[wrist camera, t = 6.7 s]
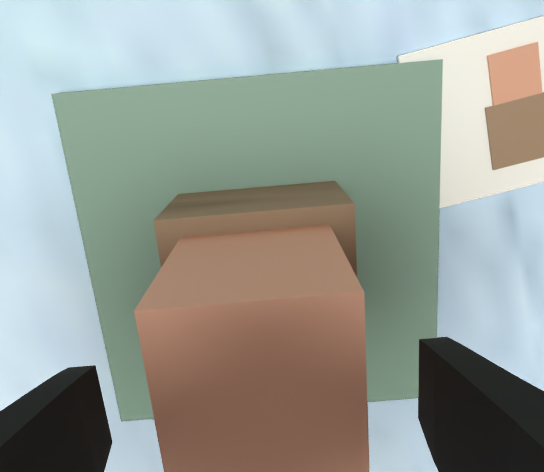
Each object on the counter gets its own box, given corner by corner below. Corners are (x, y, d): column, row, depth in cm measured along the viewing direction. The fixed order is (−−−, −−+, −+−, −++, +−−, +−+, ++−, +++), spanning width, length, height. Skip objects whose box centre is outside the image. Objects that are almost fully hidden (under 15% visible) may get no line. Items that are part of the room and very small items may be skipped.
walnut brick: (341, 322, 19) (360, 378, 15) (198, 334, 19) (181, 393, 15) (335, 180, 17) (354, 203, 13) (178, 194, 17) (153, 220, 13)
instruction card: (625, 159, 18) (631, 160, 17) (423, 211, 18) (425, 212, 18) (618, -5, 16) (625, -7, 16) (397, 56, 17) (399, 55, 16)
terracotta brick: (336, 356, 15) (369, 478, 10) (200, 367, 15) (168, 493, 10) (329, 224, 14) (364, 291, 9) (180, 236, 14) (134, 310, 9)
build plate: (430, 388, 21) (435, 396, 20) (125, 412, 21) (121, 421, 20) (436, 60, 17) (442, 59, 16) (58, 94, 17) (51, 94, 16)
